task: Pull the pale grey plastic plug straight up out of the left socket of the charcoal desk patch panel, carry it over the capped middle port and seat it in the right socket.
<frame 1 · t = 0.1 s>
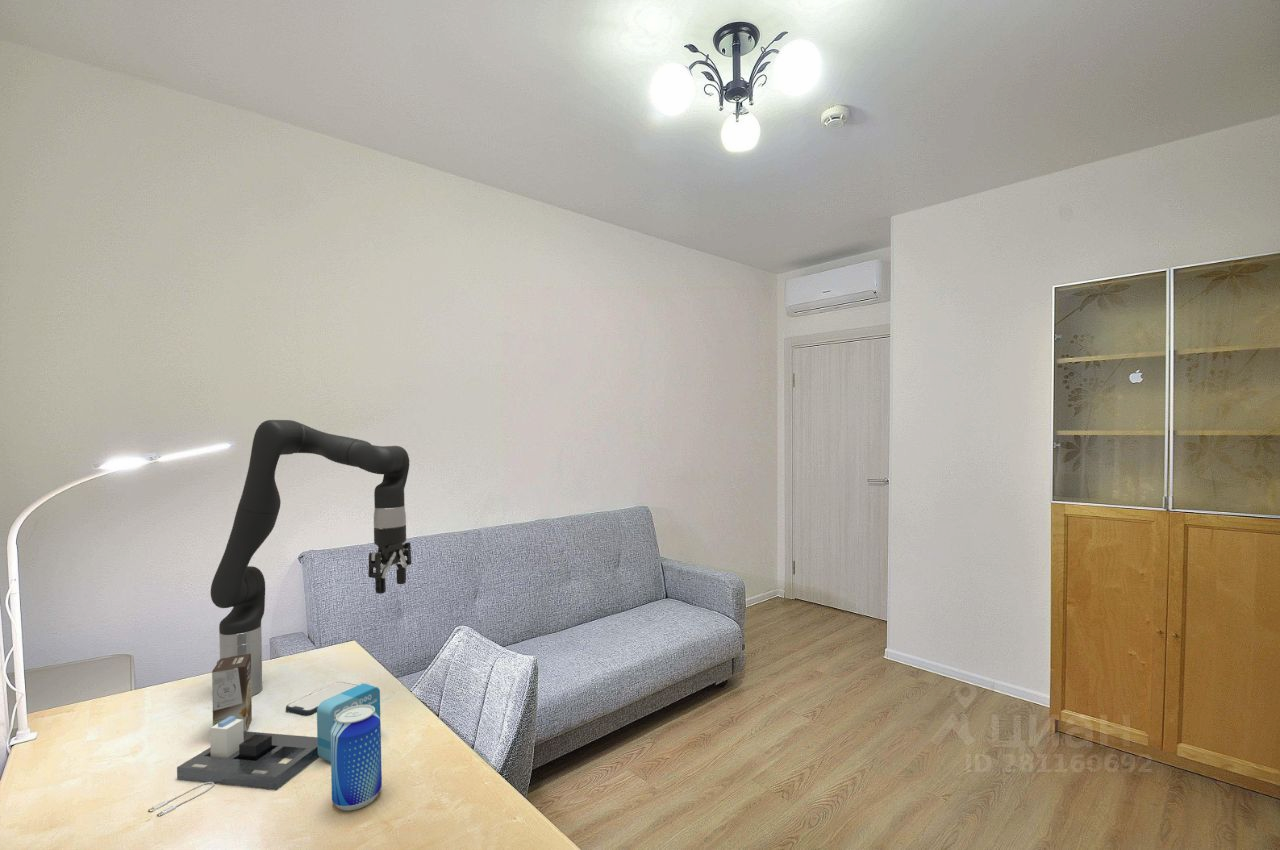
hand: (391, 588, 144), 29 cm above the table, fingers open, 8 cm apart
phone case: (324, 701, 148), on the table
plug: (227, 761, 120), resting in panel
beer can: (357, 799, 107), on the table
panel: (256, 764, 119), on the table
teal rounded box: (350, 750, 124), on the table
coffee box: (233, 731, 133), on the table
electronic cable: (184, 799, 108), on the table, touching panel
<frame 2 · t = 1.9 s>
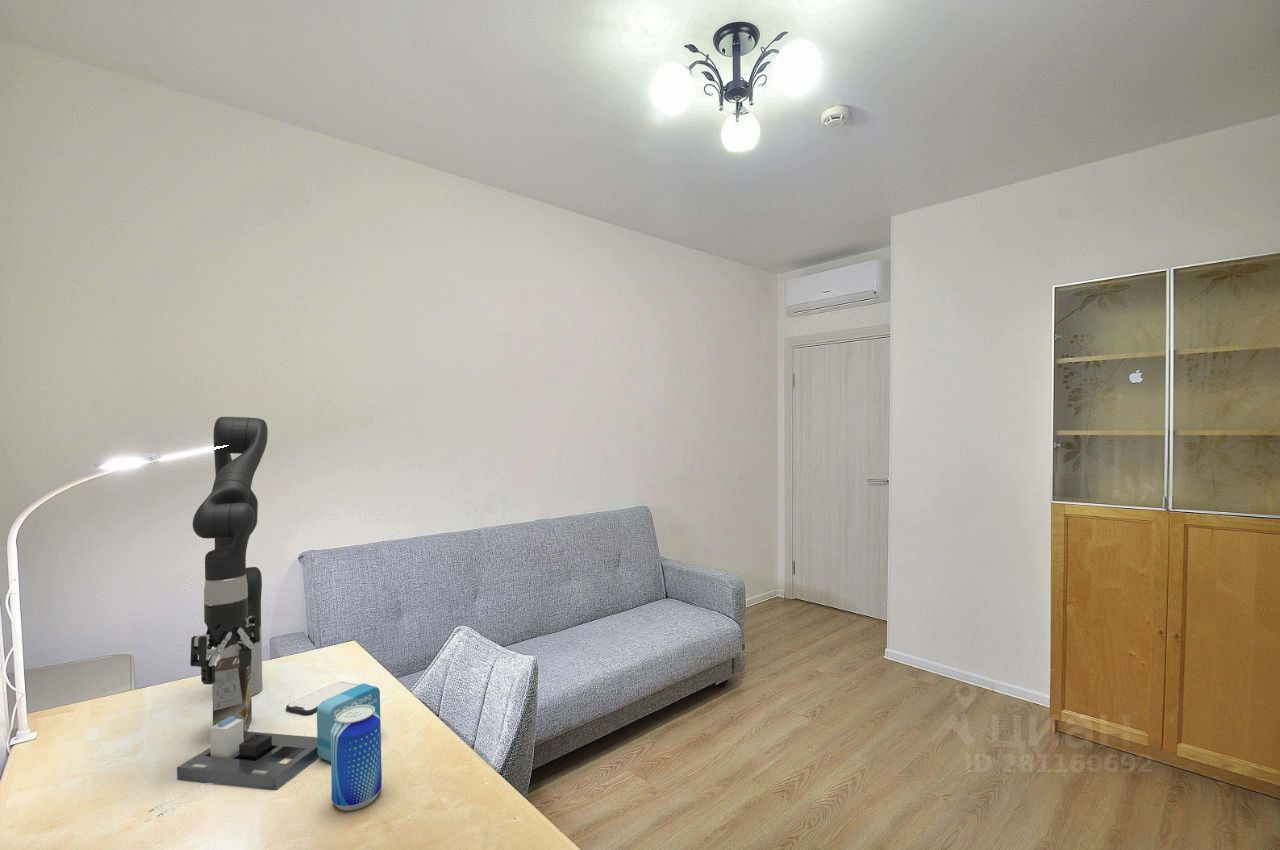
hand: (227, 674, 120), 18 cm above the table, fingers open, 8 cm apart
electronic cable: (184, 800, 108), on the table
everything else where it was.
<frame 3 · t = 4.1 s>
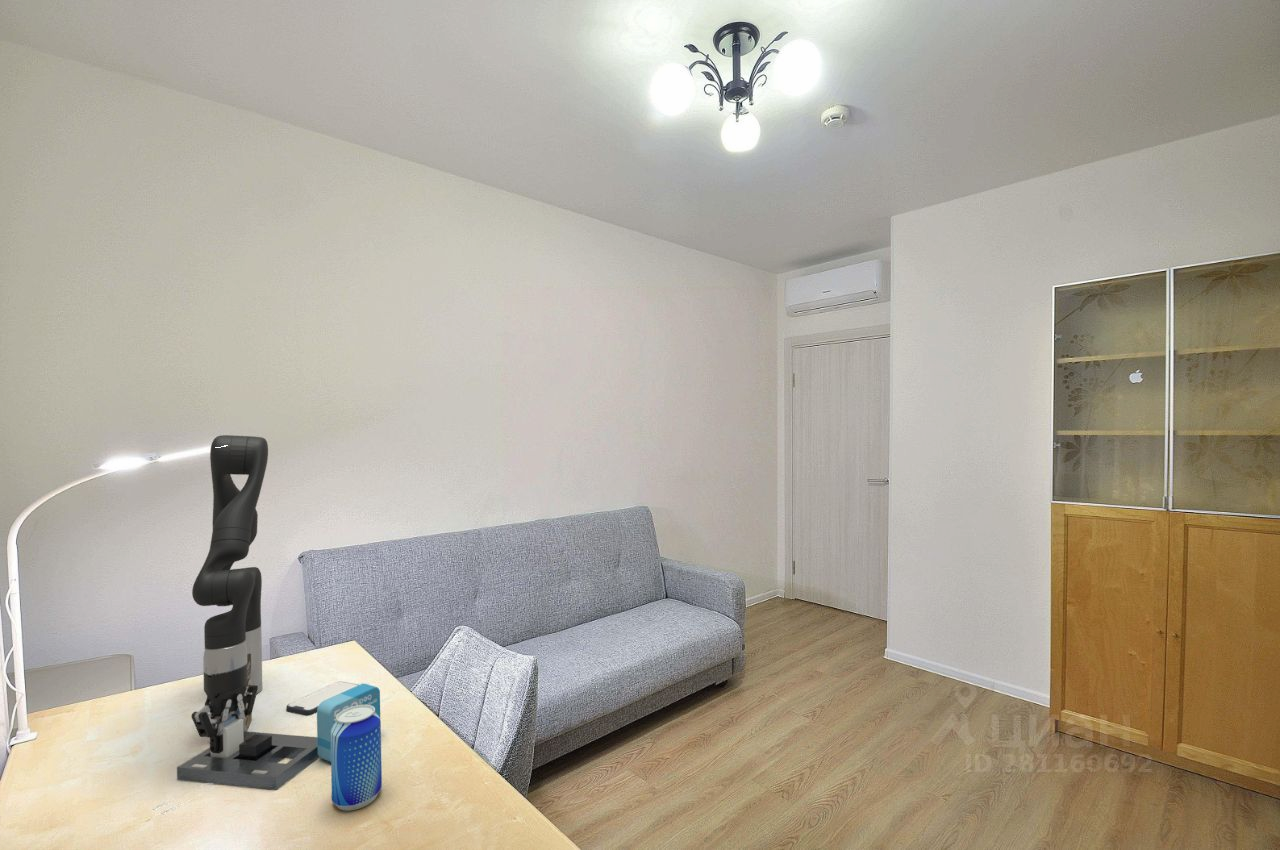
hand: (227, 745, 120), 3 cm above the table, fingers closed on plug, 4 cm apart
plug: (227, 761, 120), resting in panel, touching gripper
everything else where it was.
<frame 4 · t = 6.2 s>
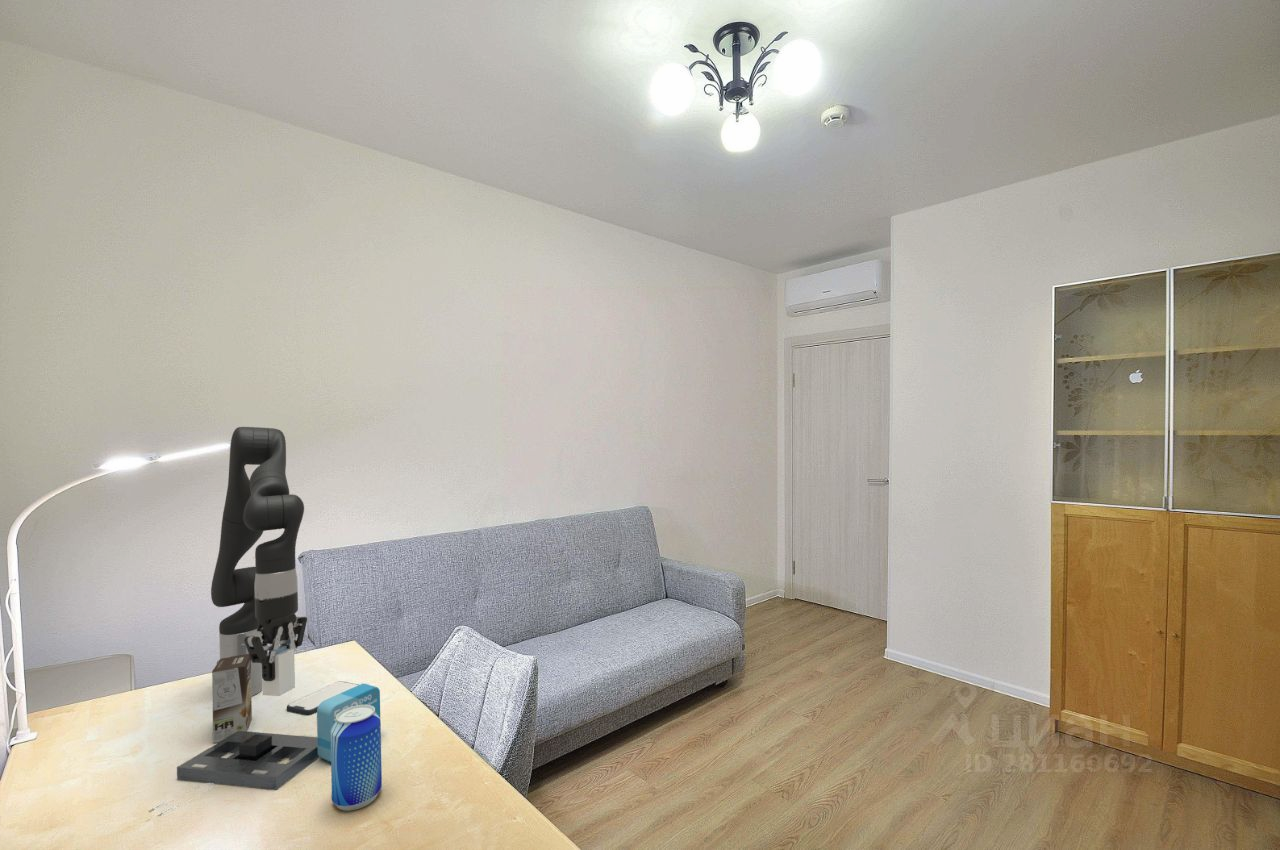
hand: (278, 675, 117), 19 cm above the table, fingers closed on plug, 4 cm apart
plug: (279, 691, 117), point 16 cm above the table, touching gripper
everything else where it was.
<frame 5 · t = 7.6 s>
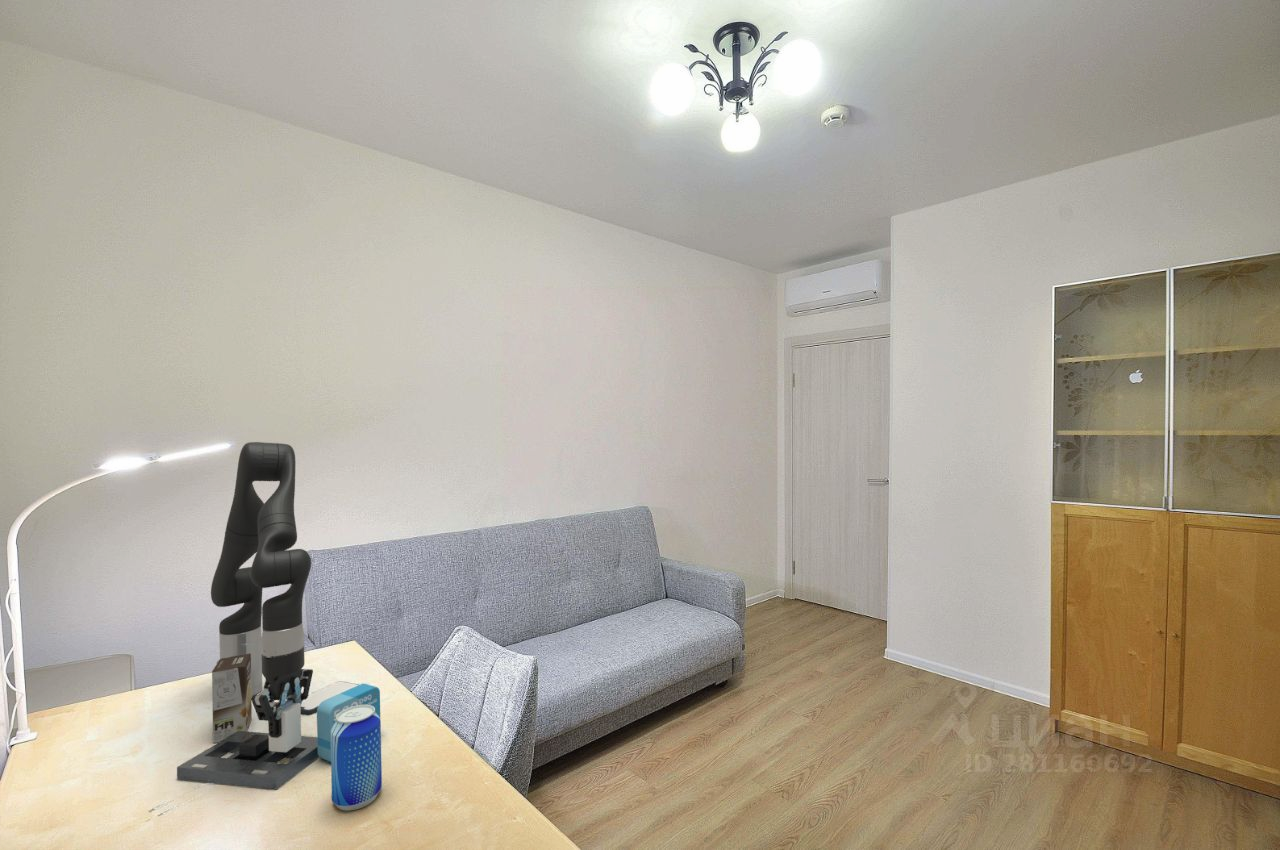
hand: (284, 730, 118), 8 cm above the table, fingers closed on plug, 4 cm apart
plug: (285, 746, 118), point 4 cm above the table, touching gripper
everything else where it was.
when the fingers open (4 cm above the table, at t = 8.6 s): plug drops 1 cm, resting in panel.
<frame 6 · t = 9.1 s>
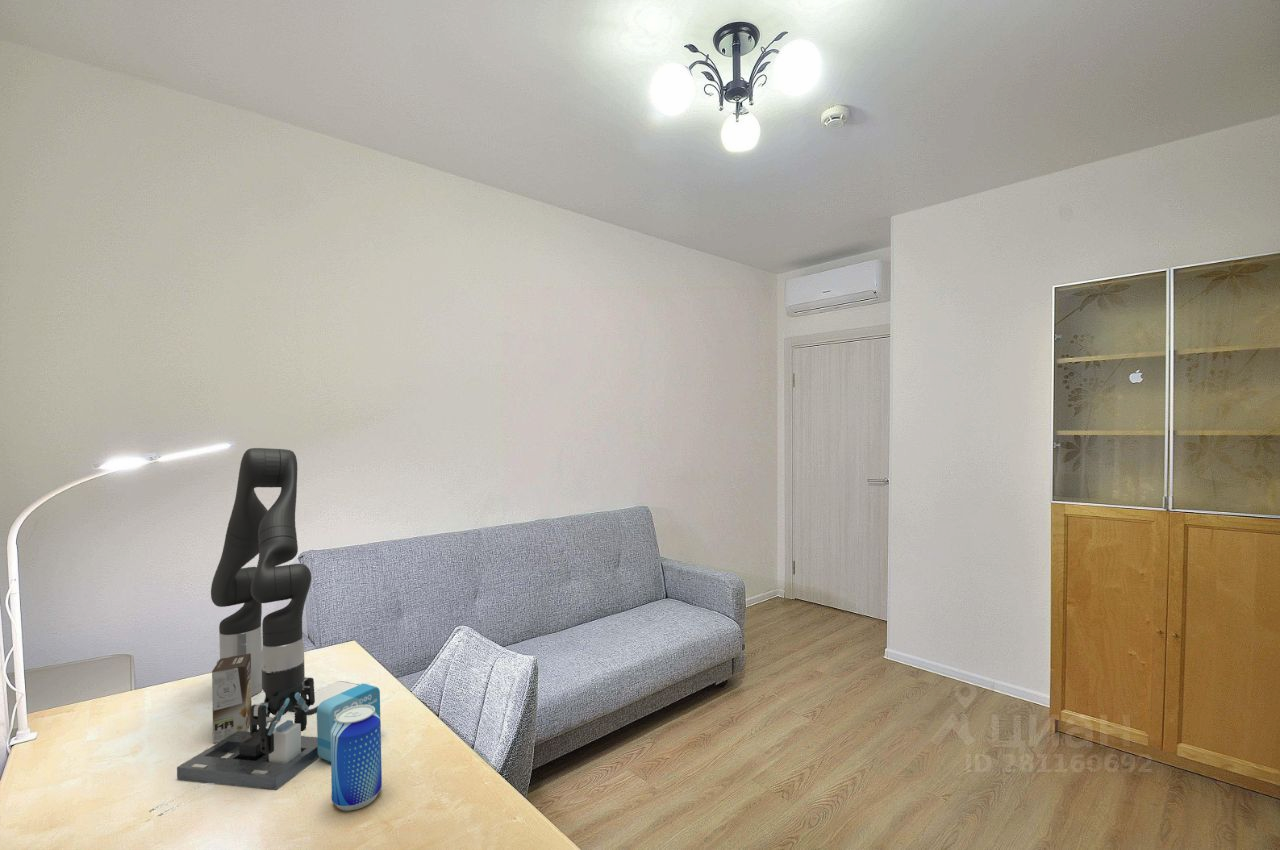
hand: (284, 741, 117), 5 cm above the table, fingers open, 8 cm apart
plug: (285, 766, 118), resting in panel
everything else where it was.
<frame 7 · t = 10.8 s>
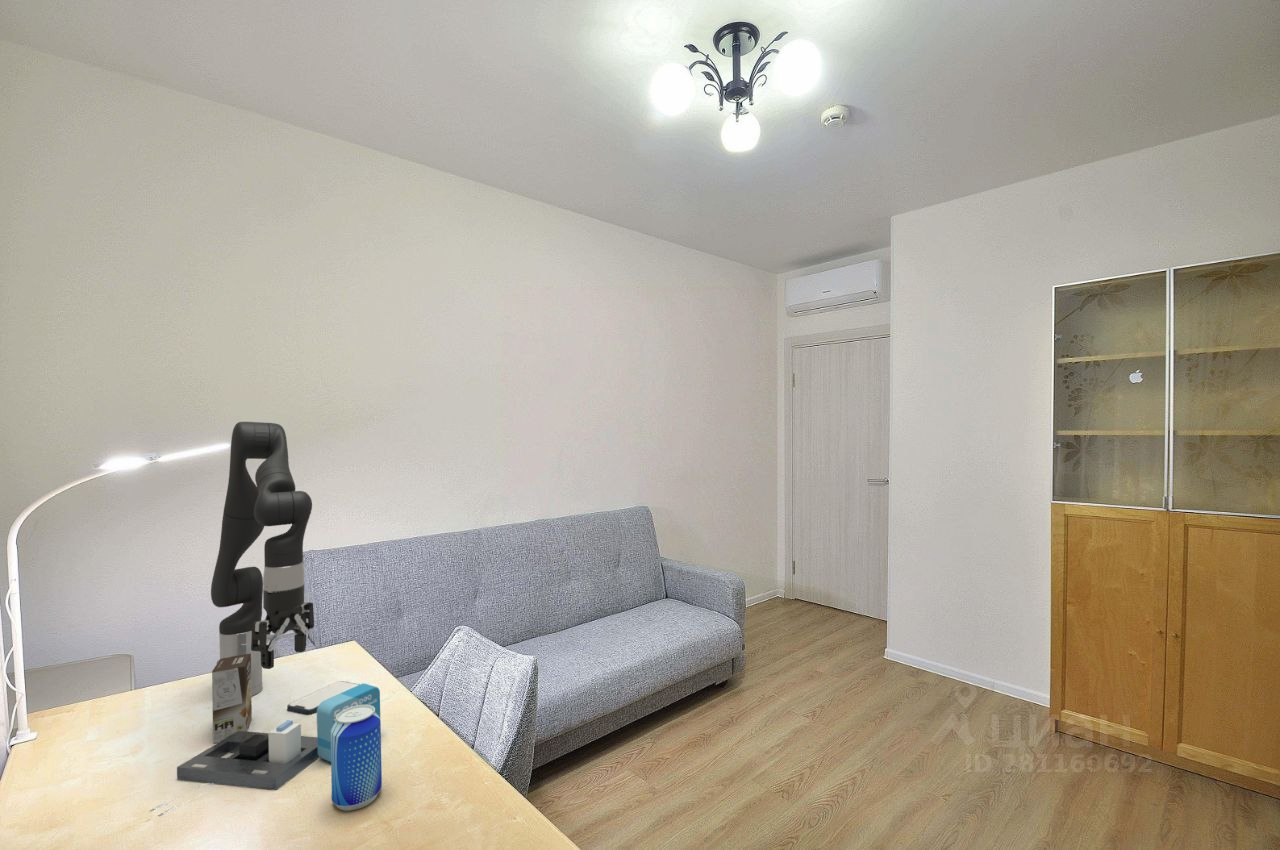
hand: (284, 659, 122), 20 cm above the table, fingers open, 8 cm apart
nothing on the table moved.
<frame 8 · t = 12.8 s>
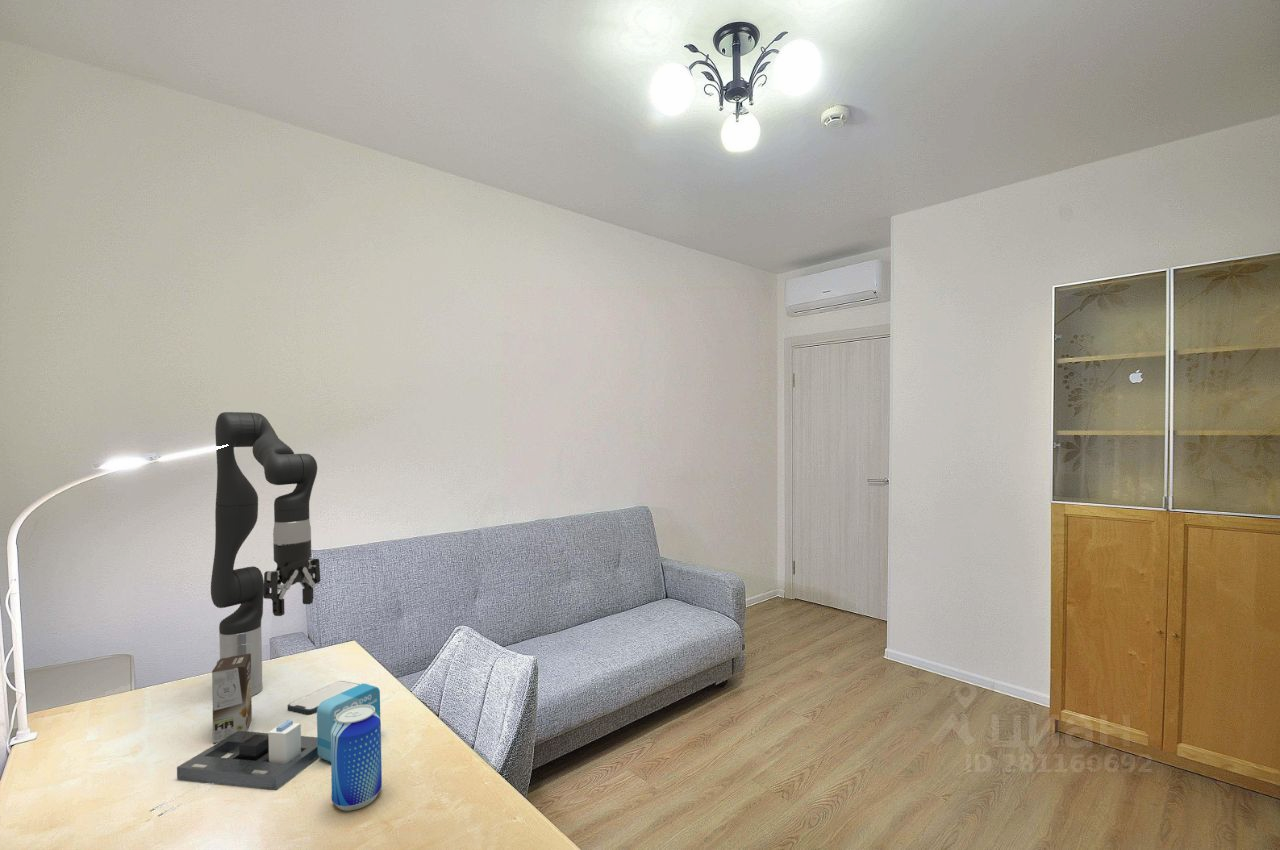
hand: (293, 609, 132), 28 cm above the table, fingers open, 8 cm apart
nothing on the table moved.
at the end: plug 0.1 cm from the target spot on the panel, point 0.0 cm above the panel's base; plug tilted 0°; the gripper is holding nothing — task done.
